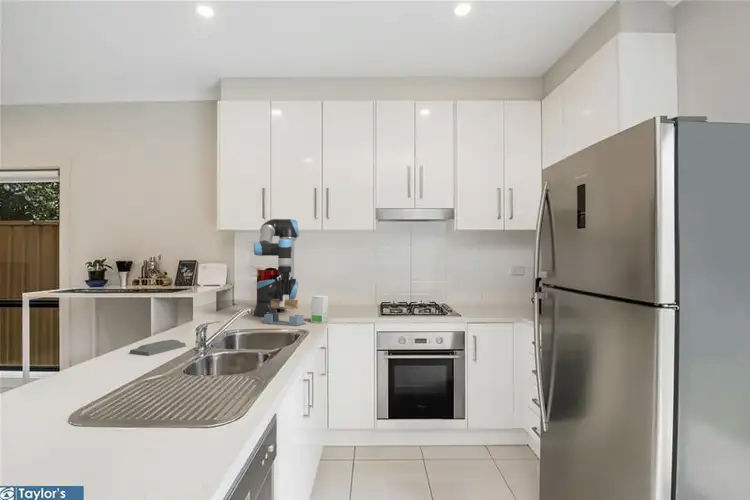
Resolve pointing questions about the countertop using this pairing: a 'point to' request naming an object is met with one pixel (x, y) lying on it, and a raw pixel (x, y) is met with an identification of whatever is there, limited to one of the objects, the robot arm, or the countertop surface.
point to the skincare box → (319, 309)
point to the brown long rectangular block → (287, 304)
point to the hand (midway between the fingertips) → (284, 306)
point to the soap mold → (157, 347)
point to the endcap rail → (274, 319)
